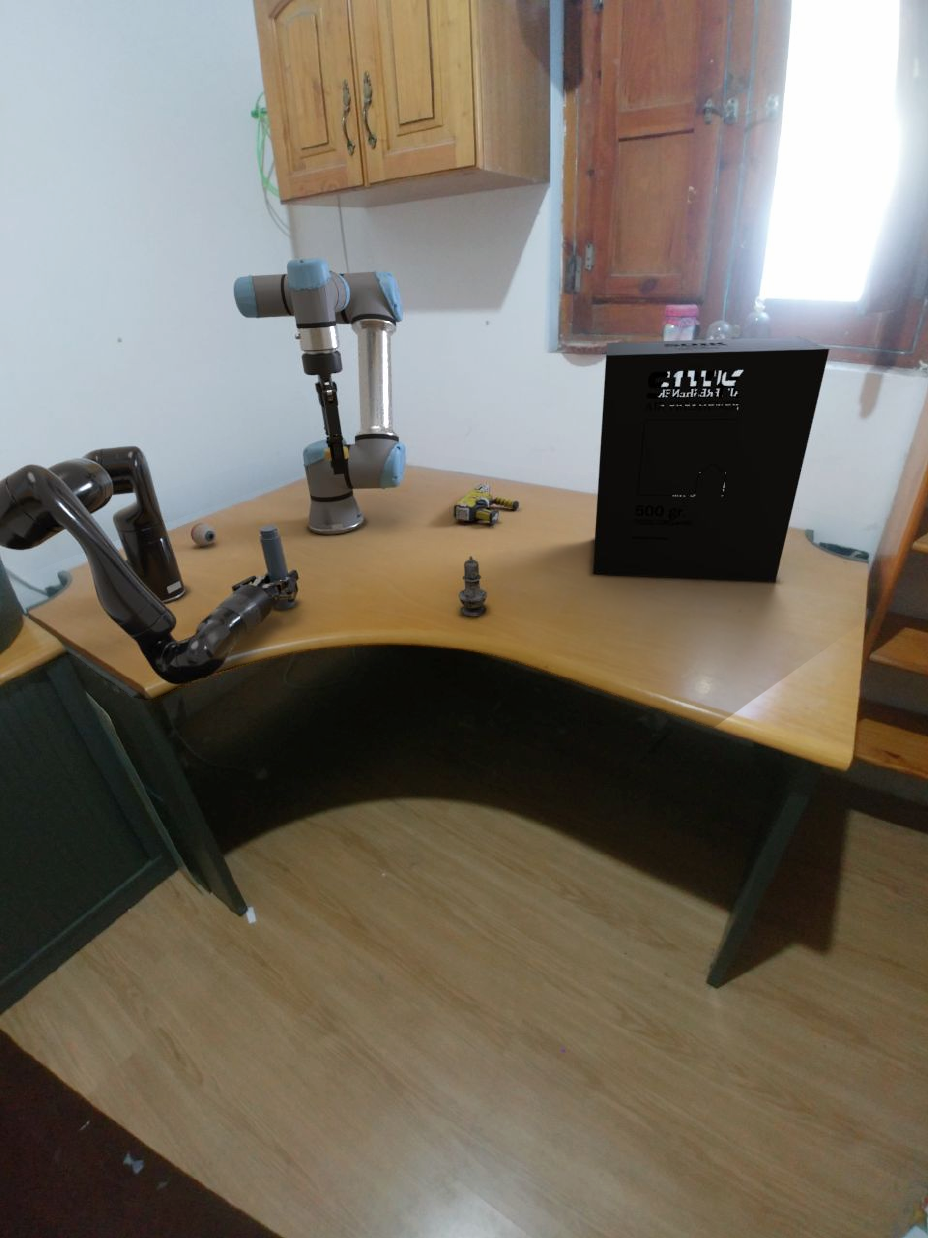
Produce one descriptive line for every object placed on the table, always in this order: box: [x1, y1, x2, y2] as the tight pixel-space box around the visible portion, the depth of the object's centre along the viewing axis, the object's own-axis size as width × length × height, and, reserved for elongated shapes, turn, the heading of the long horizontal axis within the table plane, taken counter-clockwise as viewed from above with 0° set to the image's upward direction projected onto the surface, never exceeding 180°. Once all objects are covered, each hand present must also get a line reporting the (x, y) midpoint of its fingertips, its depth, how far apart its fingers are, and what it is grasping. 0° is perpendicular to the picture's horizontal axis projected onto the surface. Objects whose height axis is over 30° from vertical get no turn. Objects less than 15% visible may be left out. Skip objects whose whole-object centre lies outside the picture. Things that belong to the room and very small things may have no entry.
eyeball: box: [190, 522, 217, 547], centre depth 160 cm, size 6×6×6 cm
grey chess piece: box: [457, 555, 488, 617], centre depth 120 cm, size 6×6×12 cm
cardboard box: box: [592, 336, 830, 583], centre depth 128 cm, size 38×20×45 cm, turn 78°
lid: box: [324, 446, 349, 461], centre depth 127 cm, size 5×5×2 cm
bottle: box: [258, 524, 296, 611], centre depth 125 cm, size 4×4×18 cm
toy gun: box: [452, 482, 520, 526], centre depth 172 cm, size 5×24×15 cm
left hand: (285, 573), depth 128 cm, fingers closed on bottle, 4 cm apart
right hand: (338, 469), depth 128 cm, fingers closed on lid, 5 cm apart
